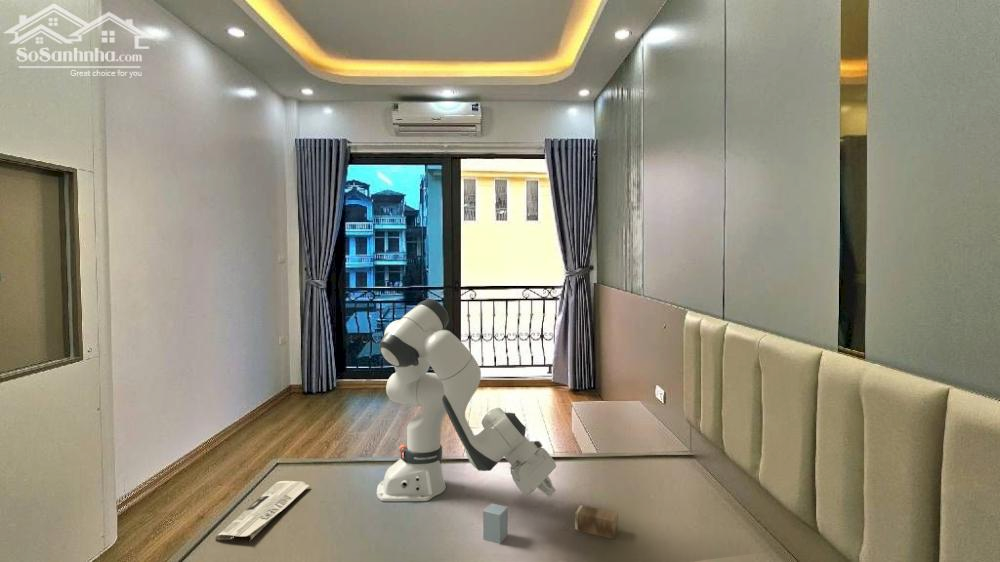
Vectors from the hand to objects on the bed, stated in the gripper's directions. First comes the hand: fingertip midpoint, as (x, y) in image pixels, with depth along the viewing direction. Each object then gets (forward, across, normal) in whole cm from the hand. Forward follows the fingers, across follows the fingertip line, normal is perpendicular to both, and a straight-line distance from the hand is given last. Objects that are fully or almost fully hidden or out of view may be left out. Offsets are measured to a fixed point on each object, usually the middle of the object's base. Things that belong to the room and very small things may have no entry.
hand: (552, 494), depth 154 cm
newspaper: (-50, -34, +62) cm, 86 cm away
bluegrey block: (-2, -16, +13) cm, 21 cm away
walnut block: (+9, 0, -2) cm, 9 cm away
